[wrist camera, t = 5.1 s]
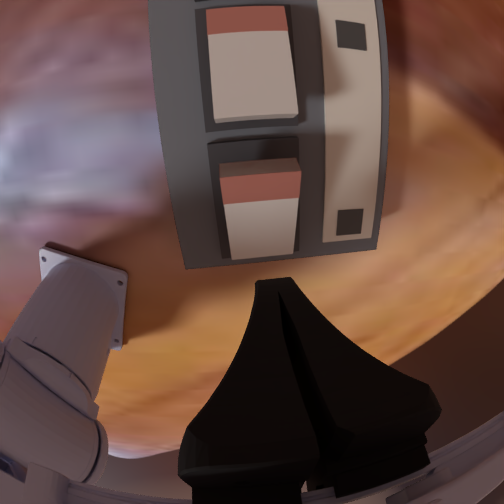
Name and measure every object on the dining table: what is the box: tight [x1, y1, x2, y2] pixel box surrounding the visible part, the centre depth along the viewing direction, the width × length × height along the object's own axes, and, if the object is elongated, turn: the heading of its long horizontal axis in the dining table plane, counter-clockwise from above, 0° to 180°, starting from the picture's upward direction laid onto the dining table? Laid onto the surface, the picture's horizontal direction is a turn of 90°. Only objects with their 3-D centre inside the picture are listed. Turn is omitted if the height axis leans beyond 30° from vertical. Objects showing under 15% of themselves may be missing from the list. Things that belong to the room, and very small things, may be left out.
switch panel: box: [148, 0, 389, 269], centre depth 13 cm, size 22×12×4 cm, turn 4°
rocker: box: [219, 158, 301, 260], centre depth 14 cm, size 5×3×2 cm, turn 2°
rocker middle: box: [206, 6, 298, 123], centre depth 10 cm, size 5×3×2 cm, turn 5°
